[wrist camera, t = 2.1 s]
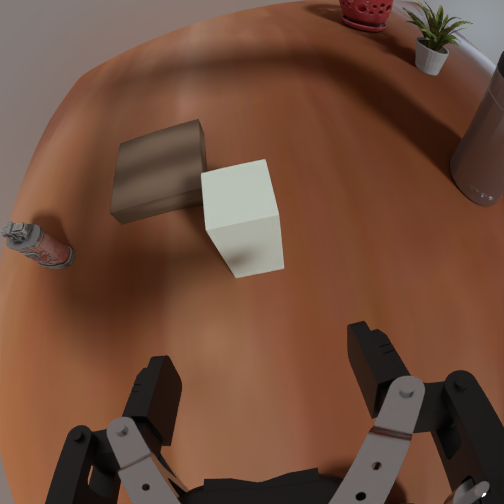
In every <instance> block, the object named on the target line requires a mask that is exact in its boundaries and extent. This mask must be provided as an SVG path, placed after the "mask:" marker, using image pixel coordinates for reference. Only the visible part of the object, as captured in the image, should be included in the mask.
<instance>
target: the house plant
mask: <svg viewBox="0 0 504 504" xmlns="http://www.w3.org/2000/svg"><path fill="white" fill-rule="evenodd" d="M415 1H416V0H415ZM416 2H418V1H416ZM418 3H419V2H418ZM410 4H411V3H410ZM419 4H420V5H421V6H422V7H423V8H424V9H423V8H422V7H421V6H420V7H421V8H422V9H423V10H424V12H425V11H426V12H425V14H426V13H427V14H426V17H427V16H428V17H427V20H428V24H429V27H430V26H431V27H430V30H429V31H431V32H429V31H428V29H427V28H426V26H425V25H424V23H423V22H422V21H421V20H420V19H419V18H417V17H416V16H415V15H414V14H413V13H411V12H410V11H409V10H407V9H405V8H403V7H402V8H403V9H404V10H405V11H406V12H407V13H408V14H409V15H410V17H411V18H412V19H413V20H414V21H415V22H414V21H406V22H410V23H413V24H415V25H417V26H418V27H419V28H420V30H421V31H422V33H423V35H424V37H418V38H417V39H416V61H415V65H416V67H417V68H418V69H420V70H421V71H423V72H425V73H427V74H429V75H437V74H438V73H439V71H440V69H441V67H442V66H443V64H444V62H445V60H446V58H447V56H448V55H449V51H448V50H447V49H446V48H445V47H444V46H443V45H445V44H448V43H453V44H455V45H456V46H457V47H458V45H457V43H456V42H455V41H453V40H451V39H457V38H456V37H455V36H453V35H450V34H452V33H453V32H452V33H450V34H448V33H449V32H450V31H451V30H452V29H454V28H456V27H458V26H460V25H461V24H465V23H470V22H467V21H459V22H456V23H454V24H453V25H452V26H451V27H448V28H445V29H444V27H445V25H446V24H447V23H448V22H449V21H450V20H451V19H454V18H458V17H453V18H450V19H449V20H448V15H446V17H445V19H444V21H443V24H442V19H443V8H442V6H440V7H439V9H438V12H437V15H436V19H435V16H434V14H433V12H432V10H431V9H430V7H429V6H428V7H429V9H430V11H431V13H432V16H433V18H432V17H431V15H430V13H429V12H428V10H427V9H426V8H425V7H424V6H423V5H422V4H421V3H419ZM412 5H413V4H412ZM413 6H414V5H413ZM414 7H415V6H414ZM418 11H419V10H418ZM419 12H420V11H419ZM421 15H422V14H421ZM422 16H423V15H422ZM423 18H424V17H423ZM428 18H429V19H428ZM447 20H448V21H447ZM471 24H472V23H471ZM441 25H442V27H441ZM427 26H428V25H427ZM429 27H428V28H429ZM440 28H441V31H440V32H439V30H440ZM459 30H460V29H459ZM457 31H458V30H457ZM454 32H456V31H454ZM447 34H448V35H447ZM446 35H447V36H446ZM458 40H459V39H458ZM459 41H460V40H459ZM460 43H461V42H460Z"/></svg>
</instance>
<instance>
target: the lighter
mask: <svg viewBox="0 0 504 504" xmlns="http://www.w3.org/2000/svg"><path fill="white" fill-rule="evenodd" d="M0 234H1V235H2V236H4V237H5V238H7V242H6V244H7V247H9V248H11V249H13V250H16V251H19V252H20V253H22V254H23V255H25V256H27V257H28V258H31V259H32V260H34V261H36V262H37V264H39V265H41V266H43V267H46V268H50V269H58V268H64V267H67V266H70V265H71V264H72V262H73V260H74V257H75V251H74V250H73V249H72V248H70V247H69V246H65V245H63V244H62V243H60V242H59V241H57V240H56V239H54V238H53V237H51V236H50V235H48V234H47V233H45V232H44V231H43V229H42V228H41V227H40V226H38V225H35V224H26V223H24V222H23V223H18V224H15V223H13V222H8V225H7V226H3V227H2V229H1V232H0Z"/></svg>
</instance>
